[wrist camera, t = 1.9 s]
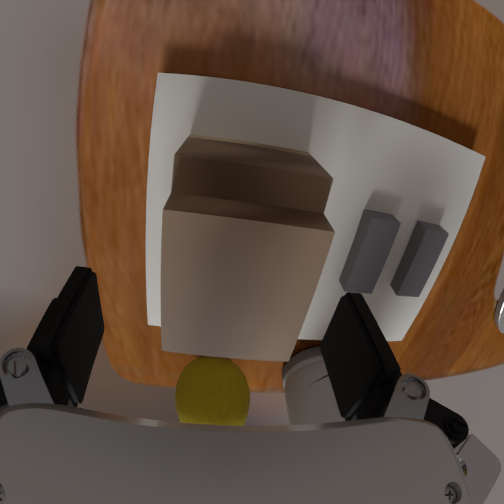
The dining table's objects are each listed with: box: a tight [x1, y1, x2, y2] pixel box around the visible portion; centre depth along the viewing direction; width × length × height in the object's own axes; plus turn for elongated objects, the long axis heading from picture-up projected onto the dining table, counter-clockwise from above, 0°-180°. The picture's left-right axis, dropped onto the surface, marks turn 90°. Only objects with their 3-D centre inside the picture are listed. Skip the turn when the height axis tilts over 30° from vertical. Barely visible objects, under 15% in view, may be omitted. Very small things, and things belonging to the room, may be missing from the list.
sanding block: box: [161, 134, 335, 362], centre depth 15 cm, size 6×10×6 cm, turn 170°
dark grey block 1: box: [339, 209, 401, 294], centre depth 18 cm, size 2×5×1 cm, turn 170°
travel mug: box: [282, 346, 345, 425], centre depth 18 cm, size 6×7×20 cm
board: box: [146, 73, 485, 341], centre depth 19 cm, size 20×16×2 cm
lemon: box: [175, 356, 250, 426], centre depth 22 cm, size 6×6×8 cm
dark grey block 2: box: [390, 220, 449, 297], centre depth 19 cm, size 2×5×1 cm, turn 170°
